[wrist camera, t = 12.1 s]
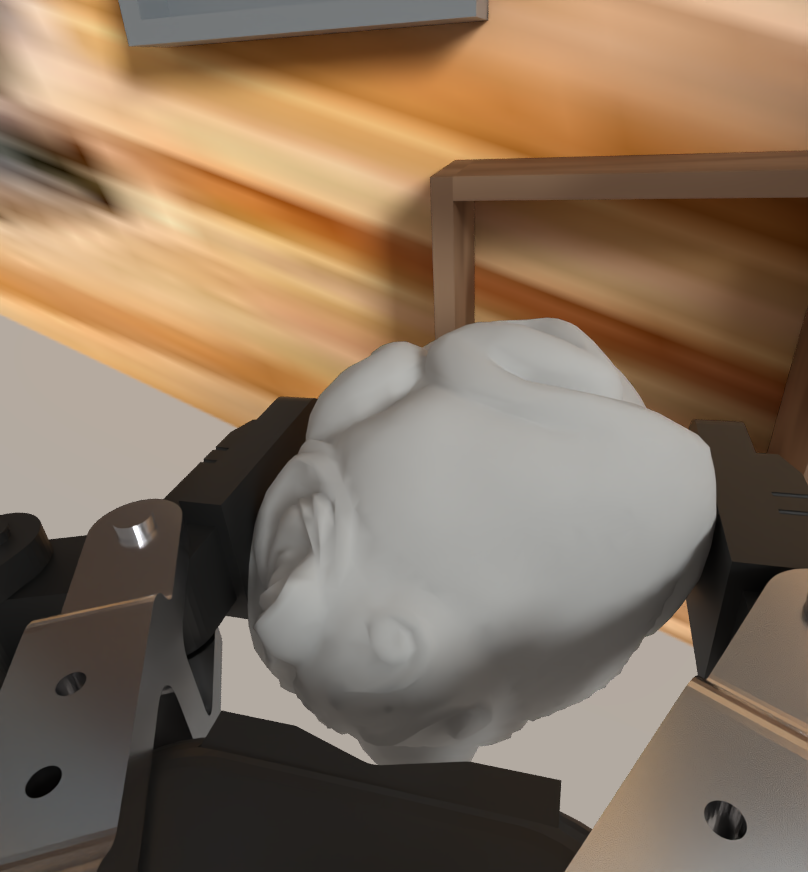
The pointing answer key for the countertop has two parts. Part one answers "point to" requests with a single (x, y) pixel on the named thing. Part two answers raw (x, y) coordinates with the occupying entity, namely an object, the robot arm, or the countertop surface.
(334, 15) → the charcoal tray
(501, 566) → the frog figurine
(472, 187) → the walnut frame
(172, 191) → the countertop surface
